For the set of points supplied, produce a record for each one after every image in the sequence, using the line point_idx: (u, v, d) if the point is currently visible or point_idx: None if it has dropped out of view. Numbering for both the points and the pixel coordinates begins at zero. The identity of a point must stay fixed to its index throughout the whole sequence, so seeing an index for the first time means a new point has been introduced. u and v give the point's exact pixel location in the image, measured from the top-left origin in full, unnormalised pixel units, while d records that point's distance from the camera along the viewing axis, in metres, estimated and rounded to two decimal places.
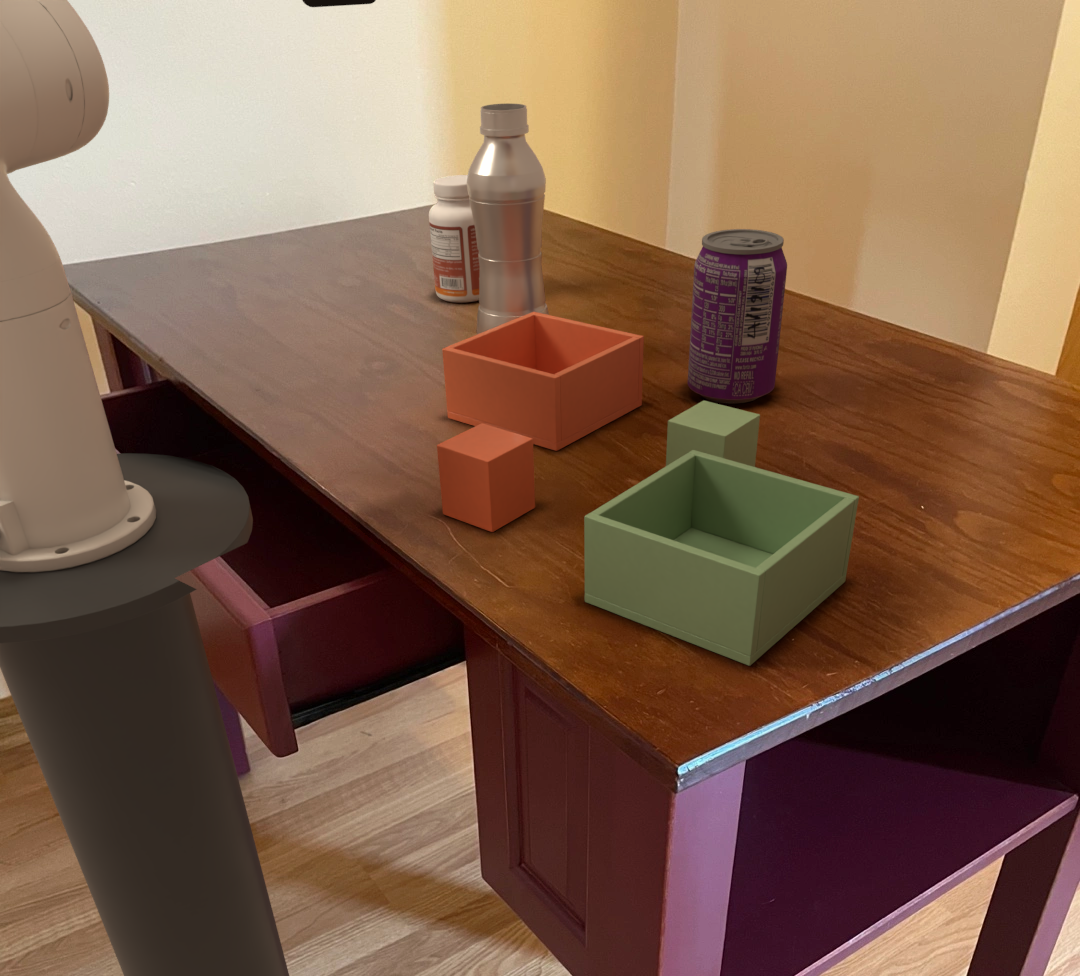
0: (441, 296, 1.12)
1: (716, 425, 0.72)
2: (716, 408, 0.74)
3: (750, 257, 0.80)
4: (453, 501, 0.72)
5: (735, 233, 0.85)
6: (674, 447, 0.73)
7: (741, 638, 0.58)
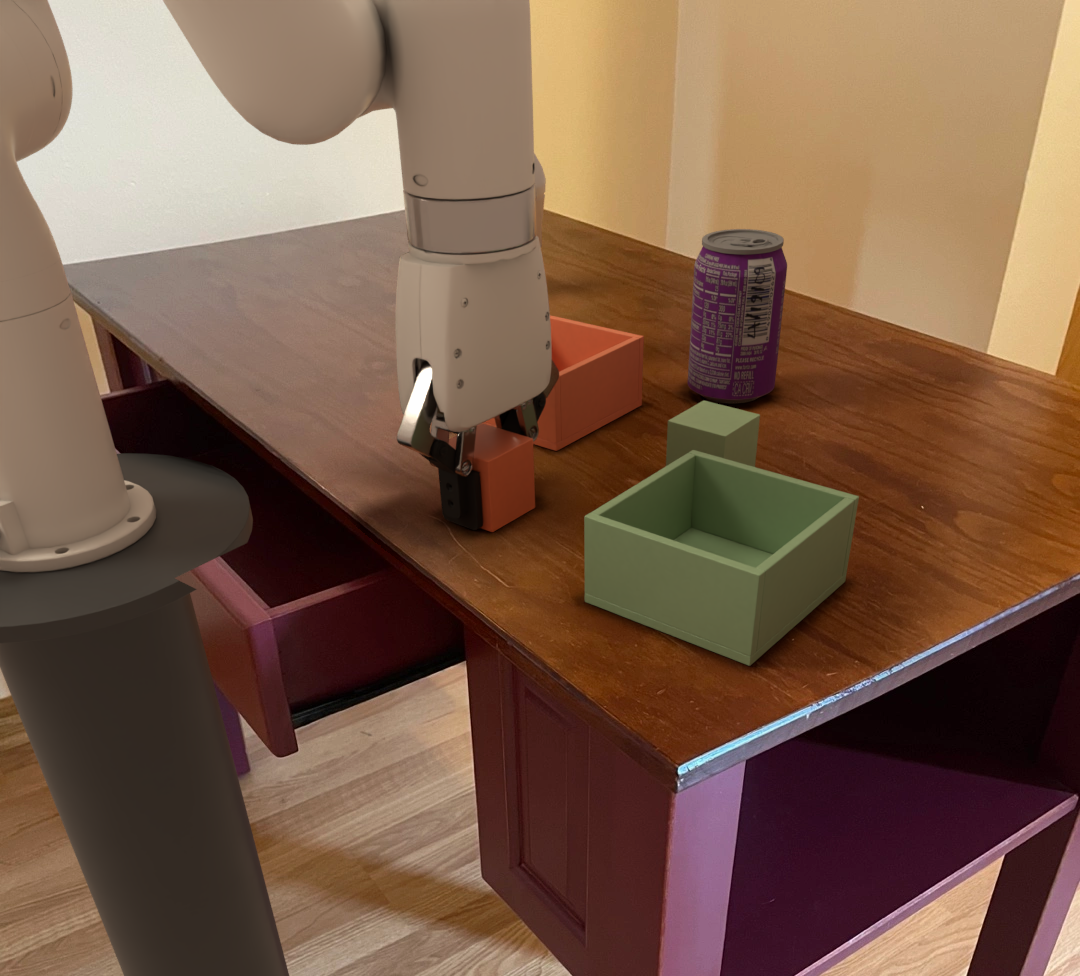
0: None
1: (716, 425, 0.72)
2: (716, 408, 0.74)
3: (750, 257, 0.80)
4: None
5: (735, 233, 0.85)
6: (674, 447, 0.73)
7: (741, 638, 0.58)
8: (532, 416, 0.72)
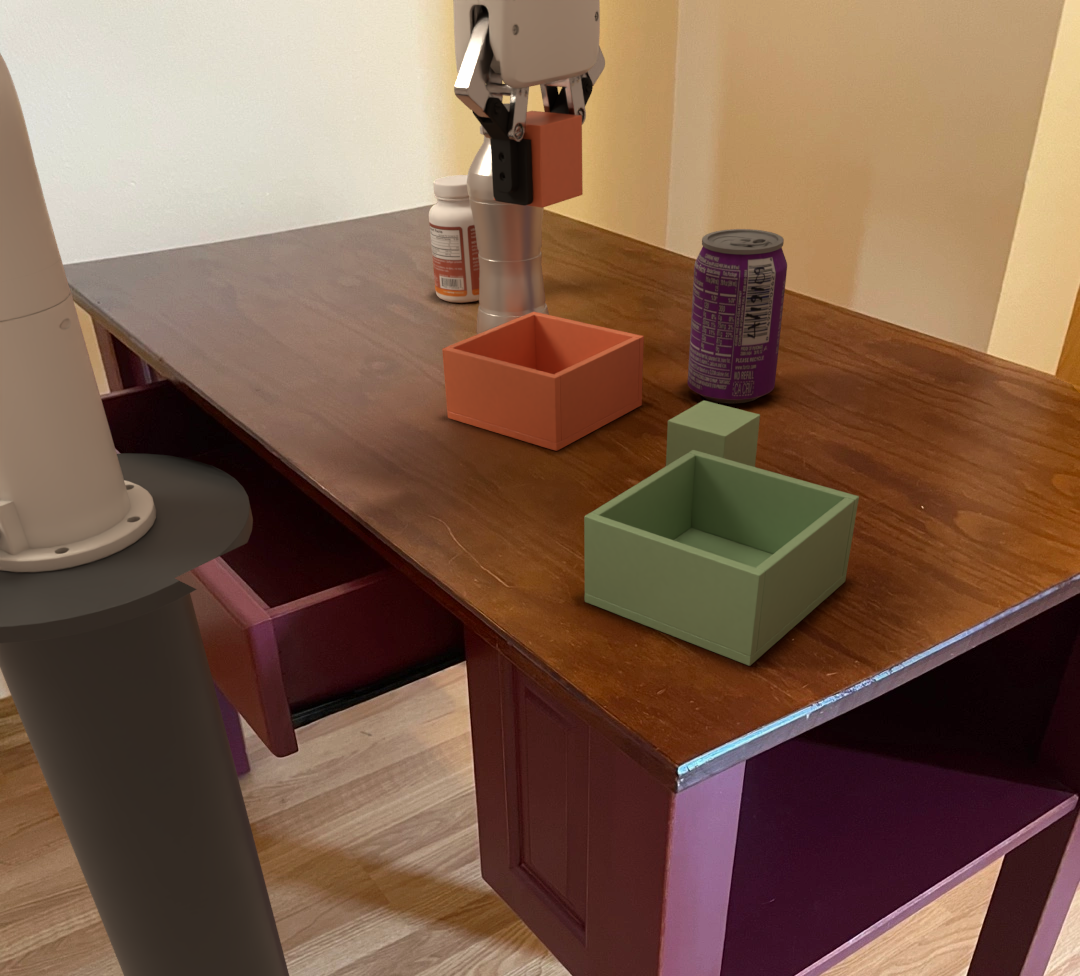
0: (441, 296, 1.12)
1: (716, 425, 0.72)
2: (716, 408, 0.74)
3: (750, 257, 0.80)
4: None
5: (735, 233, 0.85)
6: (674, 447, 0.73)
7: (741, 638, 0.58)
8: (580, 96, 0.74)
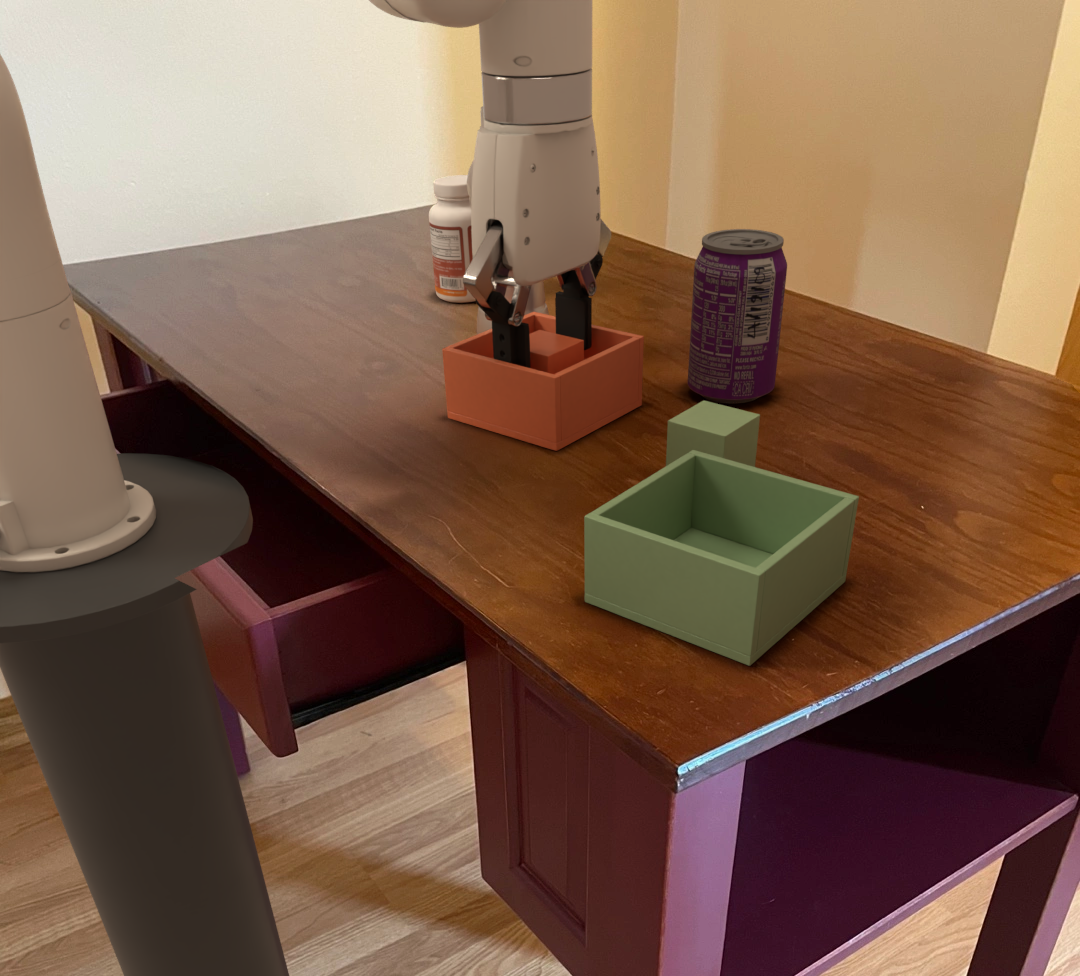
0: (441, 296, 1.12)
1: (716, 425, 0.72)
2: (716, 408, 0.74)
3: (750, 257, 0.80)
4: None
5: (735, 233, 0.85)
6: (674, 447, 0.73)
7: (741, 638, 0.58)
8: (592, 272, 0.84)
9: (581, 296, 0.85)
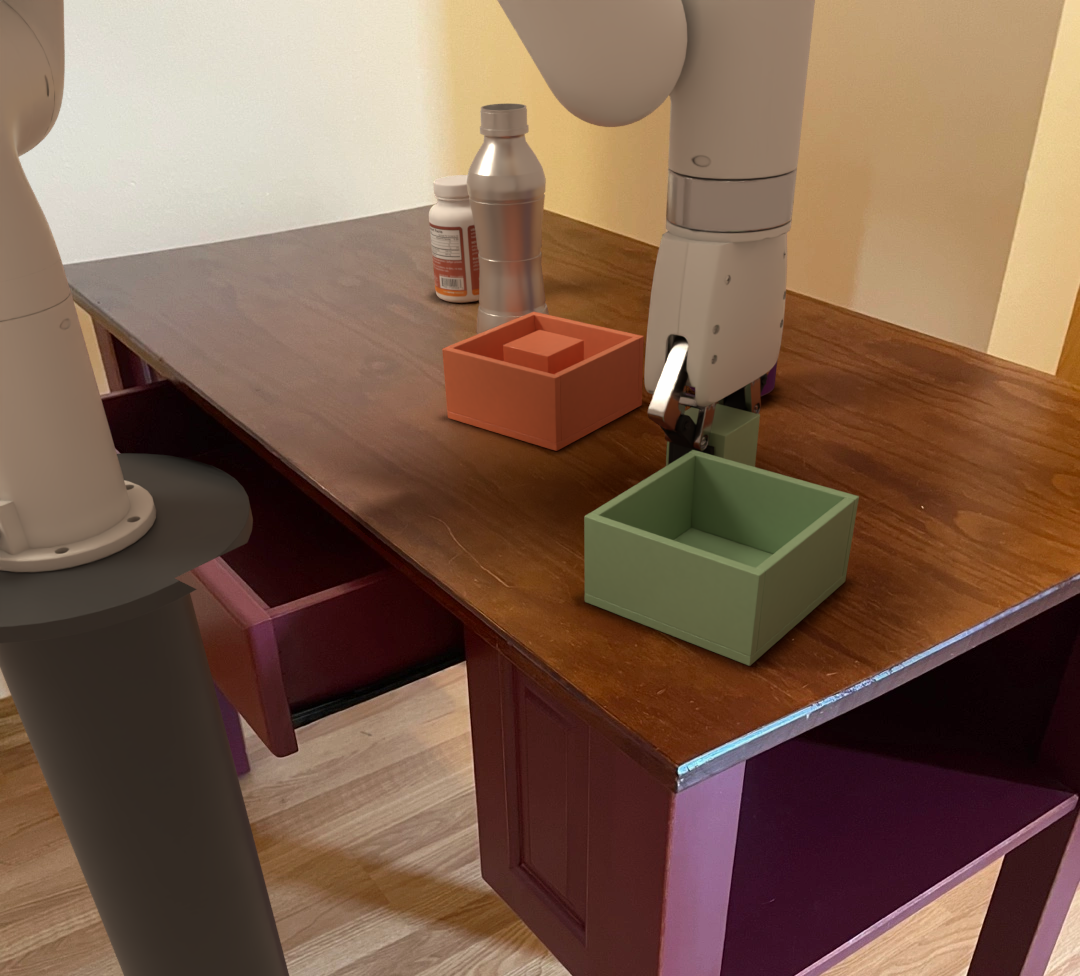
0: (441, 296, 1.12)
1: (716, 425, 0.72)
2: (716, 408, 0.74)
3: None
4: None
5: None
6: None
7: (741, 638, 0.58)
8: (757, 393, 0.74)
9: None
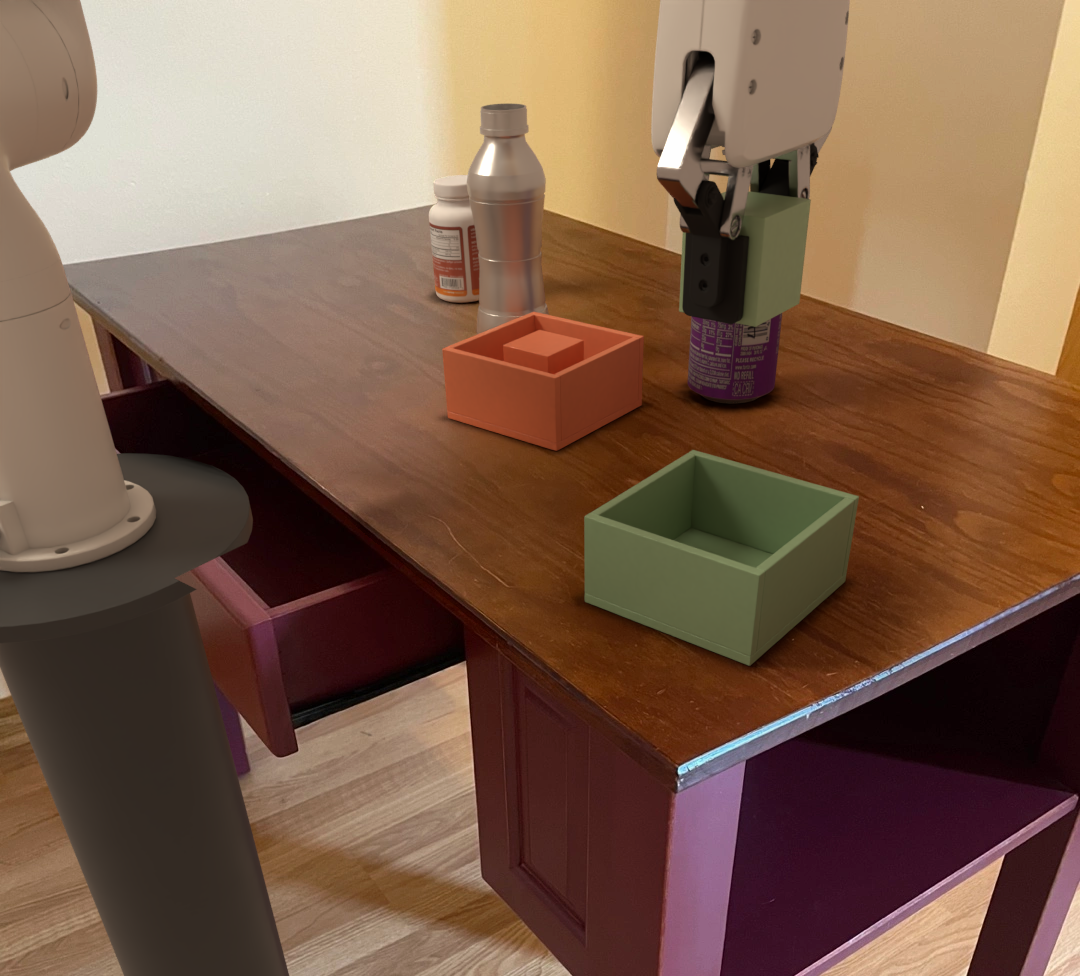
0: (441, 296, 1.12)
1: (751, 209, 0.52)
2: (749, 195, 0.54)
3: None
4: None
5: None
6: None
7: (741, 638, 0.58)
8: (806, 172, 0.54)
9: None
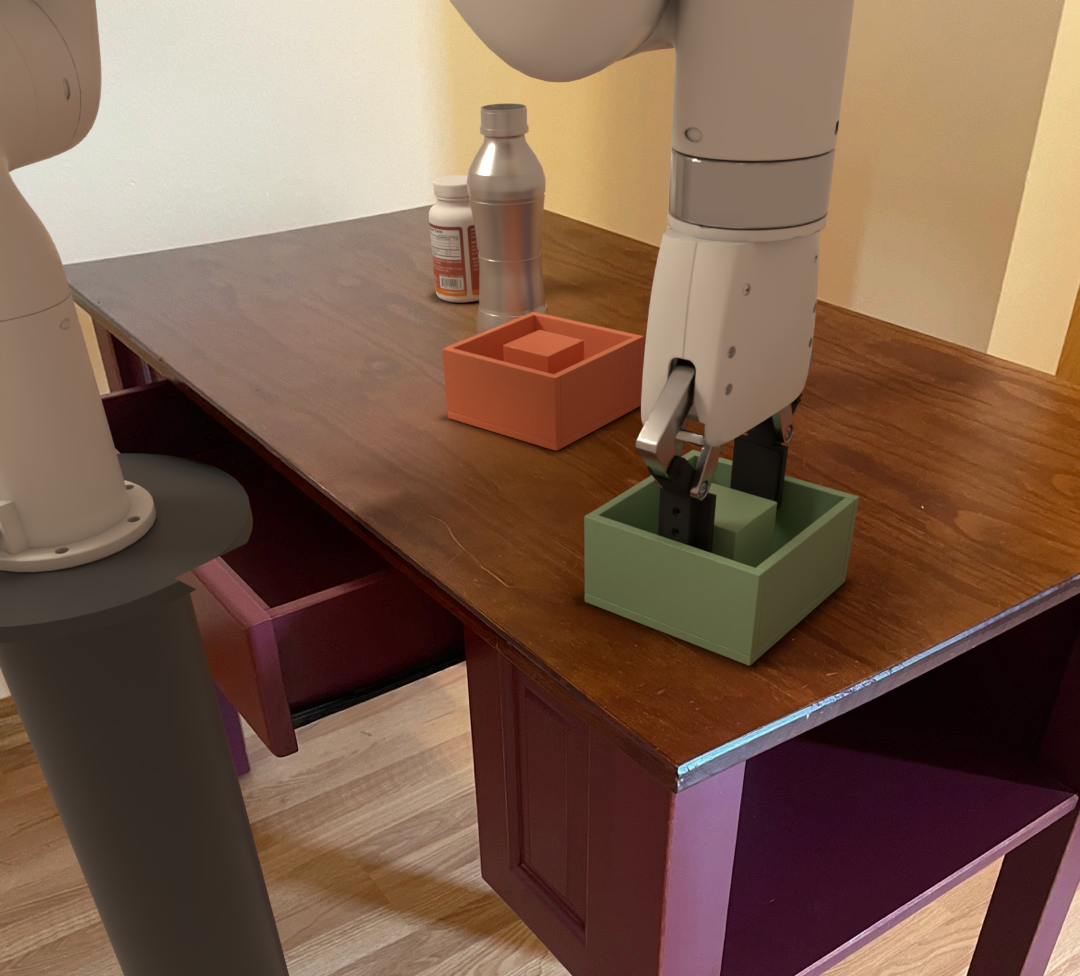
0: (441, 296, 1.12)
1: (725, 516, 0.60)
2: (724, 493, 0.62)
3: None
4: None
5: None
6: None
7: (741, 638, 0.58)
8: (791, 413, 0.61)
9: (773, 444, 0.62)
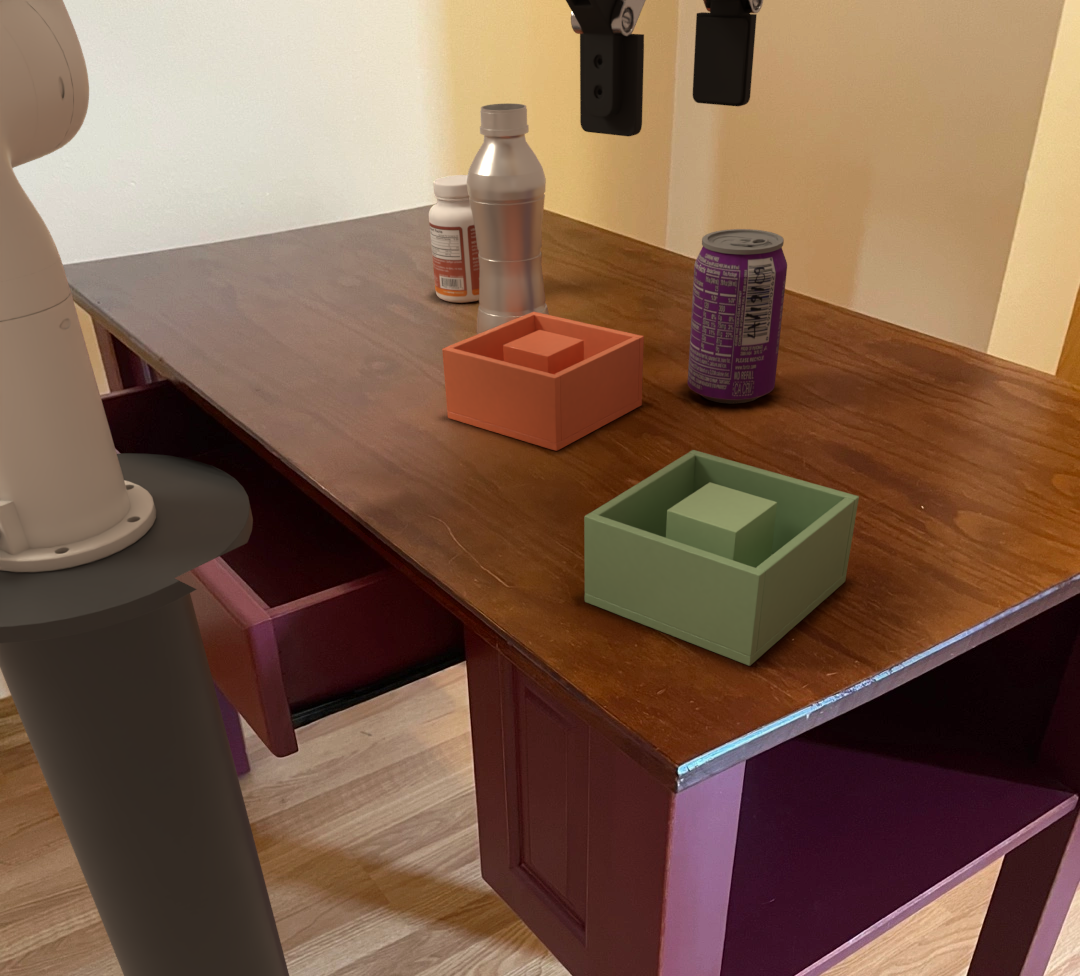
0: (441, 296, 1.12)
1: (725, 516, 0.60)
2: (724, 493, 0.62)
3: (750, 257, 0.80)
4: None
5: (735, 233, 0.85)
6: (675, 540, 0.62)
7: (741, 638, 0.58)
8: None
9: (740, 12, 0.54)
